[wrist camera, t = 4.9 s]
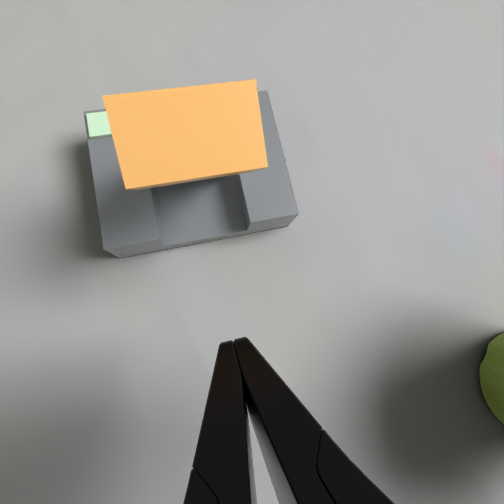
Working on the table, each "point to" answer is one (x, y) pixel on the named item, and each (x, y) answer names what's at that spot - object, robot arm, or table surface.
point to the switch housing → (187, 197)
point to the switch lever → (187, 133)
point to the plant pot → (494, 376)
